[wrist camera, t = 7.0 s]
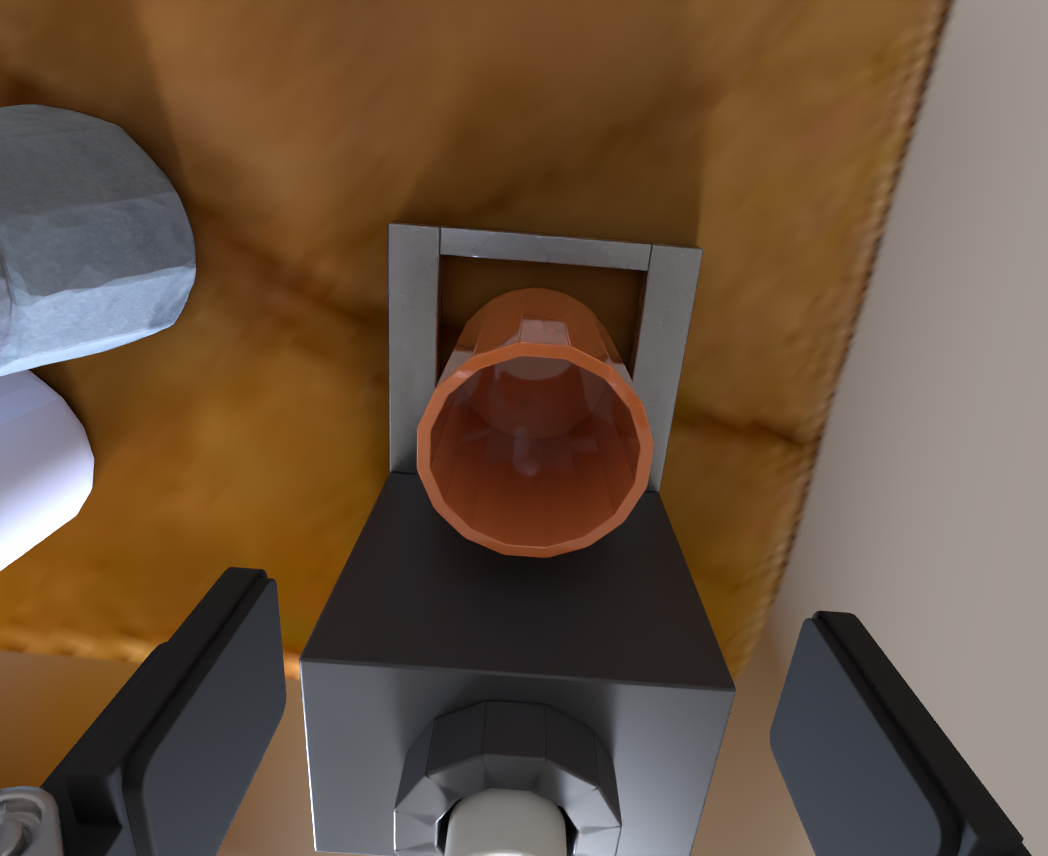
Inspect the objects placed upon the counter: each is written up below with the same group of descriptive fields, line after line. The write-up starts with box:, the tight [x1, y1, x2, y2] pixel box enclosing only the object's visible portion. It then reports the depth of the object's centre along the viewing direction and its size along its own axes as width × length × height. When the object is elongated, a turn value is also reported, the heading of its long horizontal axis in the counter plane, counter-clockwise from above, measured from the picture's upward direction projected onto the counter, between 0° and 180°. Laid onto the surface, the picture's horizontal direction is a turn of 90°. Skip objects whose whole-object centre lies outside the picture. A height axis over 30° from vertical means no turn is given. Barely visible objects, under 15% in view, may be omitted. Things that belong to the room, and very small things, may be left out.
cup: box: [417, 288, 654, 558], centre depth 22 cm, size 7×7×9 cm
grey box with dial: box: [299, 472, 736, 856], centre depth 23 cm, size 8×12×14 cm, turn 86°
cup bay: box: [388, 221, 703, 492], centre depth 25 cm, size 10×12×1 cm
